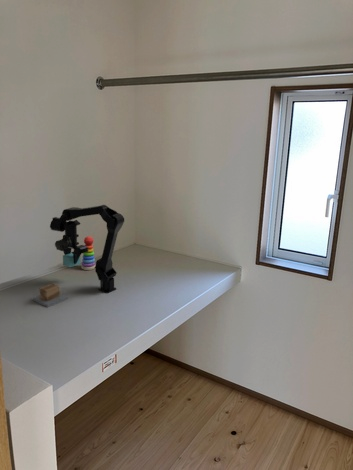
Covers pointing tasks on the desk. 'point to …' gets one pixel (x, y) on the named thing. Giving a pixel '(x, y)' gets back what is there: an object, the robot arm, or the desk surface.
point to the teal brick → (70, 260)
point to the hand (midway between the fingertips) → (71, 262)
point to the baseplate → (50, 302)
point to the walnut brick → (49, 292)
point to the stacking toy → (88, 255)
